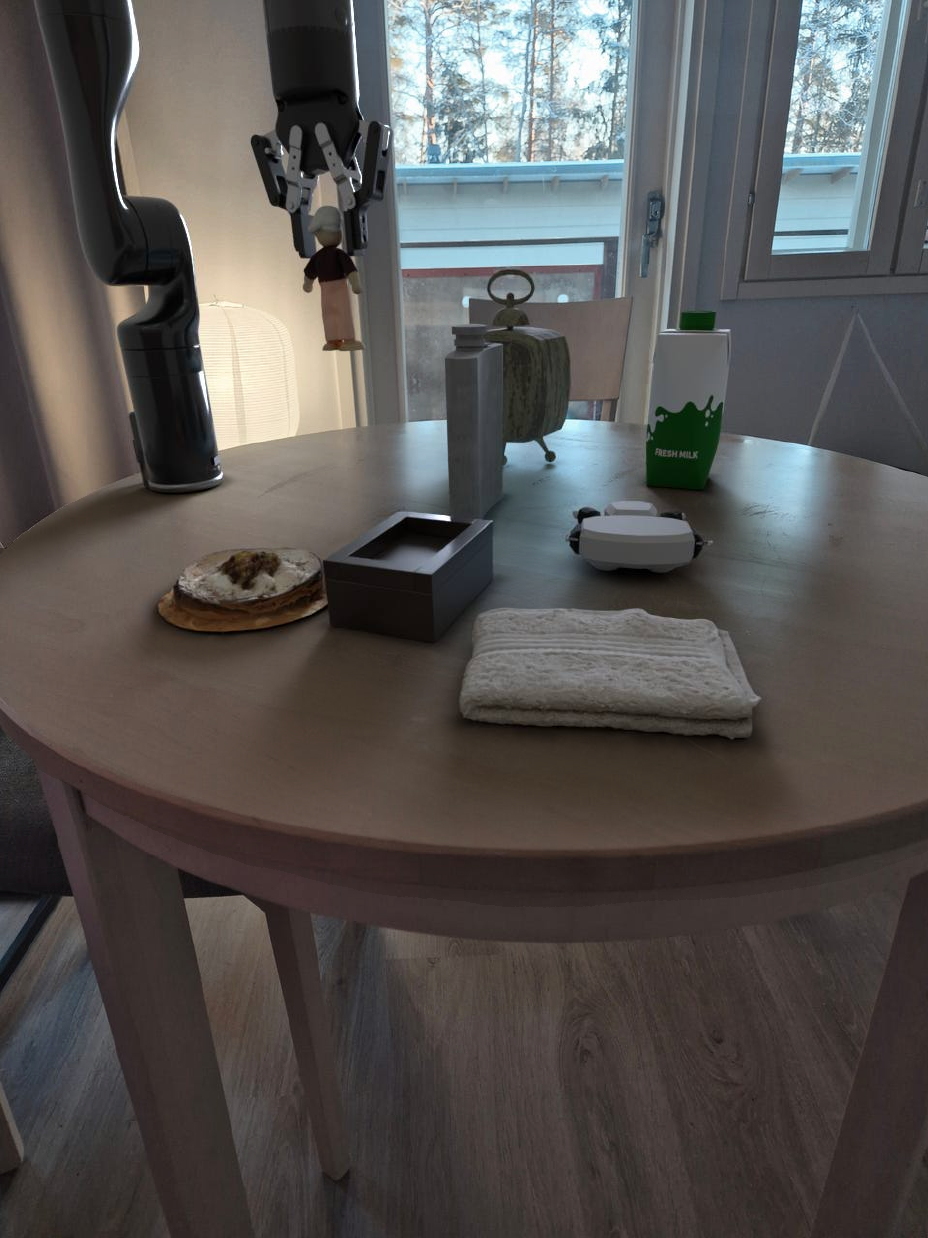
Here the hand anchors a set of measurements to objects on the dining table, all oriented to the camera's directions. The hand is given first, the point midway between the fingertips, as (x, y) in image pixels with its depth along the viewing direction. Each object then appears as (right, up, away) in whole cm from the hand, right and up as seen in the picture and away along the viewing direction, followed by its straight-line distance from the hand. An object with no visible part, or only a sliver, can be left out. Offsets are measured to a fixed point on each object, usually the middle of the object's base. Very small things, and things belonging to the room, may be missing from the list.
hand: (331, 256), depth 69 cm
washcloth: (+22, -39, -21) cm, 50 cm away
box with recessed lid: (+9, -33, -9) cm, 36 cm away
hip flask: (+14, -23, +13) cm, 30 cm away
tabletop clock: (+19, -13, +34) cm, 41 cm away
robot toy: (+29, -29, 0) cm, 41 cm away
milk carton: (+40, -17, +23) cm, 50 cm away
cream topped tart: (-6, -33, -7) cm, 34 cm away
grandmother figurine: (0, -8, +4) cm, 9 cm away
